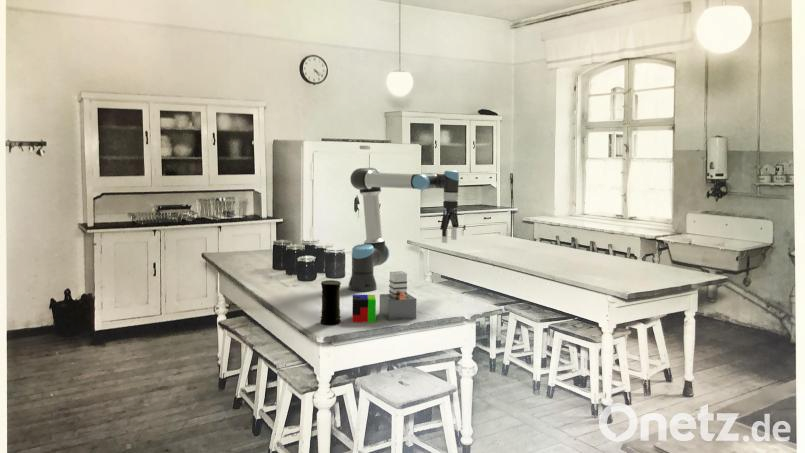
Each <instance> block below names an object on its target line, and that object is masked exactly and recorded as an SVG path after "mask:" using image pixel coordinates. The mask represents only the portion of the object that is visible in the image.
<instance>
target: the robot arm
mask: <svg viewBox="0 0 805 453" xmlns="http://www.w3.org/2000/svg"><path fill="white" fill-rule="evenodd" d="M459 175H460V174H459V171H458V170H444V173H431V172H428V173H427V172H426V173H423V174H421V173H418V174H417V173H395V172H393V173H392V172H388V173H387V172H381V170H379V169H377V168H376V167H375V168H374V167H364V168H363V167H362V168H361V167H360V168H356V169H355V170H353V171H352V173H351V175H350V179H349V180H350V184H351V186H352V187H354V189H356V190H359V194H360V195H361V196H362V199H363V200H362V202H363V211H364V212H363V215H364V224H365V225H364V226H365V227H364V228H365V234H366V235H365V237H366V239H365V240H364V242H363V243H362V244H356V245H354V246H353V247H352V249H351V276H350V279H349V282H348V287H347V288H348V290H350V291H353V292H369V291H375V290H377V286H378V285H377V282H376V278H375V275H374V267H377V266H381V265H383V264H384V263H386V262H387V261H388V259H389V256H390V250H389V247H388V246H387V245H386V240H385V239H384V238H383V237H382V236H383V235H382V224H381V212H380V211H381V210H380V209H381V208H380V200H379V199H380V198H379V195H380V193H381V192H382V189H381V188H385V189H386V188H387V189H388V188H389V189H409V190H410V189H414V190H418V191H419V190H428V189H442V190H443V202H442V203H443V204H442V205H443V206H442V208H444V209H445V210H443V212H442V213H443V214H442V220H441V224H440V228H439V229H440V231H441V243H443V244H447V243H448V226H449V224H450V223H451V228H450V229H451V230H450V232H451V233H450V234H451V236H450V240H454V241H457V235H458V234H457V233H458V232H457V231H458V230H457V229H458V228H459V227H460V226H459V217H458V207H459V201H458V200H459V196H460V195H459V186H460V185H459V182H460V176H459Z"/></svg>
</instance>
